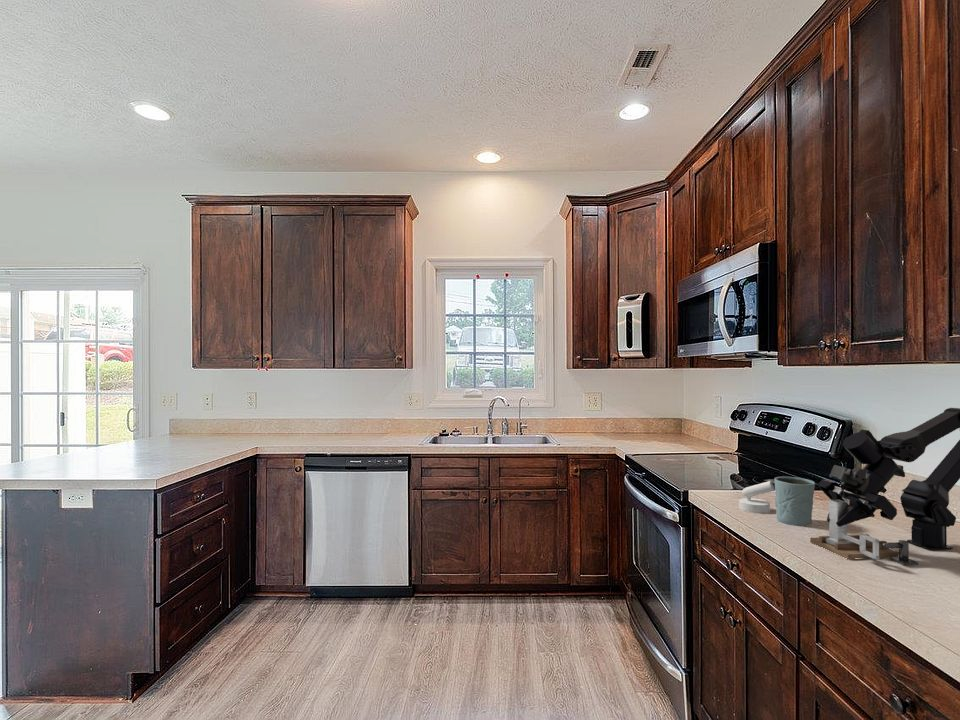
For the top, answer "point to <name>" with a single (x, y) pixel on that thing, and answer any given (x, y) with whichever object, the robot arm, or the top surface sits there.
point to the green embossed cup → (794, 500)
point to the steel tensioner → (840, 533)
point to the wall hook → (753, 503)
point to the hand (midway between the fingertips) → (832, 523)
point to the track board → (853, 548)
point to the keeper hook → (901, 552)
